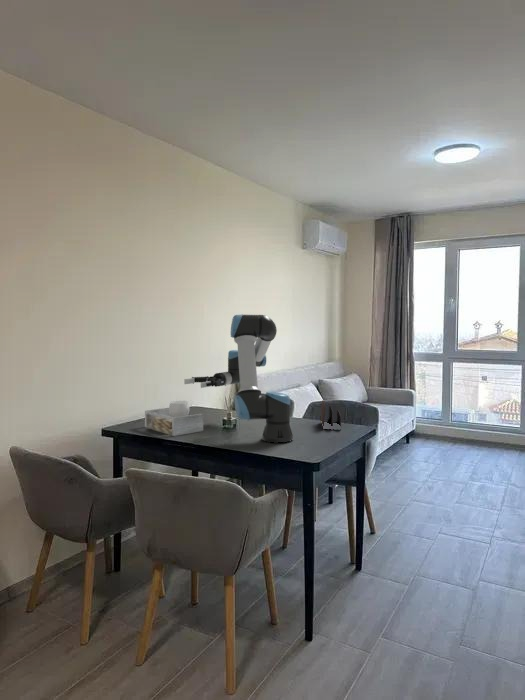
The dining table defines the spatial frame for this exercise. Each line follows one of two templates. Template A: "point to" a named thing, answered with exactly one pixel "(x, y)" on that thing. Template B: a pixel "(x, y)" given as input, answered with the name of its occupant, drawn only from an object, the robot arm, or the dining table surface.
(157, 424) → the offcut bundle
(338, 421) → the letter holder
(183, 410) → the cup
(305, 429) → the dining table surface
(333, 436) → the dining table surface
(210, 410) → the dining table surface
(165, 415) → the grey open storage bin
